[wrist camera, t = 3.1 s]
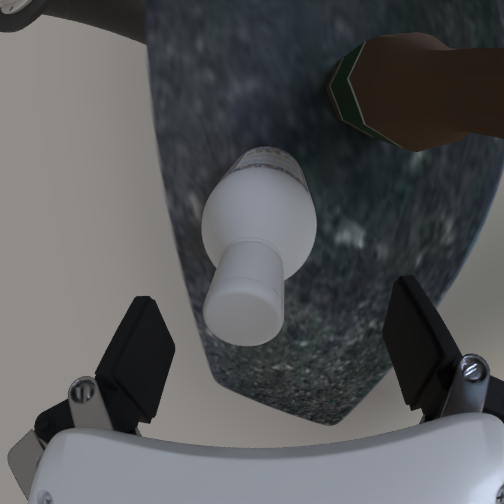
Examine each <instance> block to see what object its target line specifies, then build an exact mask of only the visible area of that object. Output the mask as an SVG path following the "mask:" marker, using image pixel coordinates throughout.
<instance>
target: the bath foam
mask: <svg viewBox="0 0 504 504" xmlns="http://www.w3.org/2000/svg"><path fill="white" fill-rule="evenodd" d="M315 235H316V214H315V209H314V205H313V202H312V199H311V196H310V193H309V190H308V187H307V184H306V181H305V178H304V175H303V172H302V170H301V167H300V165H299V163H298V162H297V161H296V160H295V159H294V158H293V157H292V156H291V155H290V154H289V153H287V152H286V151H284V150H281V149H279V148H275V147H268V146H263V147H257V148H253V149H251V150H248V151H247V152H245V153H244V154H242V155H241V156H240V157H239V158H238V159H237V160H236V161H235V163H234V164H233V165H232V166H231V167H230V169H229V170H228V171H227V172H226V174H225V175H224V176H223V177H222V179H221V180H220V181H219V182H218V184H217V185H216V186H215V188H214V189H213V190H212V192H211V193H210V195H209V197H208V199H207V202H206V205H205V208H204V211H203V216H202V238H203V243H204V247H205V250H206V252H207V254H208V256H209V258H210V260H211V261H212V263H213V265H214V266H215V267H216V268H217V269H216V272H215V274H214V277H213V280H212V283H211V285H210V288H209V291H208V294H207V296H206V299H205V302H204V306H203V318H204V321H205V323H206V325H207V327H208V328H209V330H210V331H211V332H212V333H213V334H214V335H215V336H217V337H218V338H220V339H222V340H223V341H226V342H228V343H231V344H234V345H240V346H255V345H260V344H263V343H265V342H267V341H269V340H271V339H272V338H274V337H275V336H276V335H277V334H278V333H279V331H280V329H281V327H282V324H283V320H284V280H286V279H287V278H289V277H290V276H292V275H293V274H294V273H295V272H296V271H297V270H298V269H299V268H300V267H301V266H302V265H303V264H304V262H305V261H306V259H307V257H308V256H309V254H310V252H311V249H312V247H313V244H314V240H315Z"/></svg>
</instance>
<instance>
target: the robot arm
mask: <svg viewBox="0 0 504 504" xmlns="http://www.w3.org/2000/svg"><path fill="white" fill-rule="evenodd" d="M31 1H32V0H0V7H1V11H2V12H3V13H5V14H14V13H16V12H18V11H20V10H21V9H23V8H24V7H26V6H27V5H28V4H29V3H30V2H31ZM382 333H383V339H384V341H385V344H386V347H387V350H388V352H389V355H390V358H391V361H392V364H393V367H394V370H395V372H396V375H397V379H398V381H399V385H400V388H401V391H402V394H403V398H404V401H405V403H406V405H410V409H411V411H413V410H416V409H419V408H421V409H422V412H423V417H422V419H421V421H420V423H419V424H418V425H415V426H412V427H408V428H404V429H401V430H397V431H392V432H388V433H384V434H379V435H375V436H370V437H366V438H360V439H355V440H349V441H343V442H336V443H329V444H320V445H311V446H299V447H283V448H230V447H214V446H213V447H212V446H202V445H201V446H200V445H192V444H184V443H176V442H169V441H164V440H158V439H152V438H146V437H142V435H141V434H140V431H139V430H138V427H137V426H138V422H143V423H148V424H150V423H151V419H152V418H154V417H155V416H156V413H157V409H158V406H159V403H160V399H161V396H162V392H163V389H164V385H165V382H166V379H167V376H168V372H169V369H170V366H171V363H172V359H173V356H174V353H175V344H174V342H173V339H172V337H171V335H170V333H169V331H168V329H167V326H166V324H165V322H164V320H163V318H162V315H161V313H160V311H159V308H158V306H157V304H156V302H155V300H153V299H151V297H150V296H137V297H135V298H134V300H133V302H132V303H131V305H130V307H129V309H128V310H127V313H126V314H125V316H124V318H123V319H122V321H121V323H120V325H119V327H118V329H117V330H116V332H115V334H114V336H113V338H112V340H111V342H110V344H109V346H108V348H107V350H106V351H105V354H104V355H103V357H102V359H101V361H100V364H99V365H98V367H97V370H96V372H95V374H96V376H95V378H92V377H90V376H83V377H80V378H78V379H77V380H75V381H74V382H73V383H72V384H71V386H70V388H69V391H68V399H66V400H65V401H63V402H61V403H59V404H57V405H55V406H53V407H51V408H50V409H48V410H46V411H44V412H42V413H41V414H40V415H39V416H38V417H37V419H36V421H35V425H34V428H35V430H32V429H31V430H30V431H29V432H28V433H27V434H26V435H25V436H24V437H23V438H22V439H21V440H20V441H19V442H18V443H17V444H16V445H15V446H14V447H13V448H12V449H11V450H10V451H9V453H8V464H9V466H10V468H11V470H12V472H13V475H14V476H15V479H16V480H17V482H18V484H19V486H20V488H21V490H22V491H23V493H24V495H25V497H26V498H27V500H28V504H504V381H502V380H500V379H498V378H495V377H493V376H491V375H490V369H489V366H488V364H487V362H486V361H485V360H484V359H483V358H482V357H481V356H479V355H477V354H466V355H464V356H462V354H461V352H460V351H459V349H458V347H457V345H456V343H455V341H454V339H453V337H452V336H451V334H450V332H449V330H448V329H447V327H446V325H445V323H444V322H443V320H442V318H441V317H440V315H439V313H438V312H437V310H436V308H435V307H434V306H433V304H432V303H431V301H430V300H429V298H428V296H427V295H426V293H425V292H424V290H423V289H422V287H421V286H420V284H419V283H418V281H417V280H416V278H415V277H414V276H413V275H407V276H400V277H399V278H398V280H397V281H395V282H394V284H393V289H392V294H391V298H390V303H389V307H388V311H387V315H386V319H385V323H384V327H383V332H382Z"/></svg>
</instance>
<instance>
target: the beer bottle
mask: <svg viewBox="0 0 504 504" xmlns="http://www.w3.org/2000/svg"><path fill="white" fill-rule="evenodd" d="M325 89H326V91H327V94H328V96H329V99H330V101H331V104H332V106H333V109H334V112H335V114H336V117H337V119H338V120H340V121H342V122H344V123H346V124H348V125H350V126H351V127H353V128H355V129H357V130H358V131H360V132H362V133H364V134H366V135H368V136H371V137H374V138H377V139H380V140H382V141H385V142H388V143H390V144H393V145H395V146H398V147H400V148H403V149H406V150H411V151H415V152H419V151H423V150H426V149H430V148H434V147H438V146H442V145H446V144H450V143H454V142H457V141H460V140H464V138H465V137H466V136H467V134H468V133H469V132H472V133H478V134H483V135H489V136H493V137H498V138H502V139H504V48H472V49H451V48H448V47H447V46H446V45H444V44H443V43H442V42H441V41H439V40H438V39H437V38H435V37H434V36H432V35H428V34H424V33H420V32H415V33H401V34H391V35H383V36H377V37H375V38H372V39H370V40H367V41H366V42H364V43H363V44H361V45H360V46H359V47H357V48H356V49H354V50H353V51H352V52H350V53H349V54H348V55H346V56H345V57H344V58H342V59H341V60H340V61H338V63H337V65H336V67H335V69H334V71H333V73H332V76H331V78H330V80H329V82H328V84H327V86H326V88H325Z"/></svg>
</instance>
